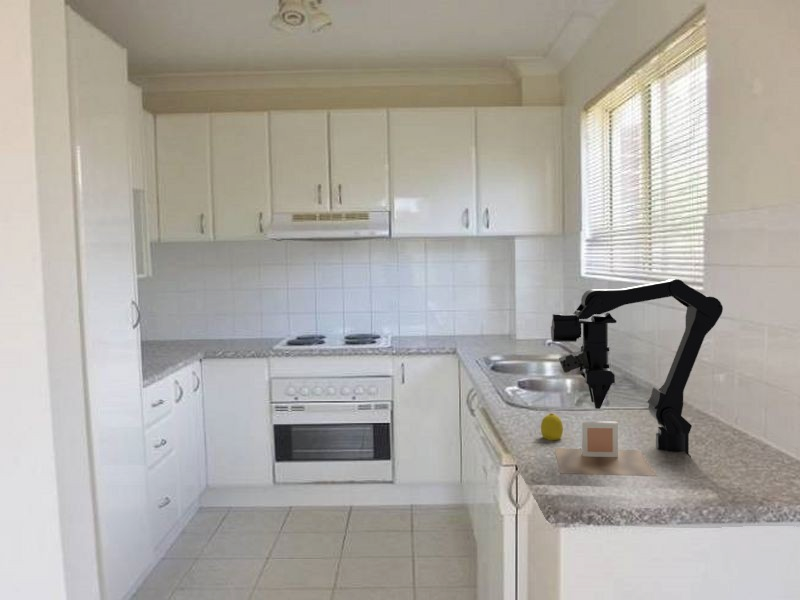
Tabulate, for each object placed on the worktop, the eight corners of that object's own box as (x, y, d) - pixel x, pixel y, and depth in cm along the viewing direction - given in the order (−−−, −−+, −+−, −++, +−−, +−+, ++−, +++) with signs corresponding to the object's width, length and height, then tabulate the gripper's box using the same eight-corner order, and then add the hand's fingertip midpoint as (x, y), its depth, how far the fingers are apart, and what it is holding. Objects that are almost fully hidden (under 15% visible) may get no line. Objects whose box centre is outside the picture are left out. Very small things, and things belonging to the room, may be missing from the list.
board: (640, 456, 152) (640, 450, 152) (657, 482, 134) (657, 475, 134) (554, 454, 155) (554, 448, 155) (560, 480, 138) (560, 473, 138)
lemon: (547, 447, 161) (547, 416, 160) (537, 441, 166) (536, 411, 166) (567, 445, 162) (566, 414, 162) (556, 439, 168) (555, 409, 167)
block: (616, 454, 149) (616, 421, 148) (618, 457, 147) (617, 423, 147) (581, 454, 150) (581, 420, 150) (582, 456, 148) (582, 422, 148)
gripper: (558, 336, 163) (558, 396, 164) (564, 347, 145) (564, 414, 146) (602, 336, 162) (603, 397, 163) (614, 347, 143) (615, 415, 144)
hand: (595, 405), depth 154 cm, fingers open, 6 cm apart
